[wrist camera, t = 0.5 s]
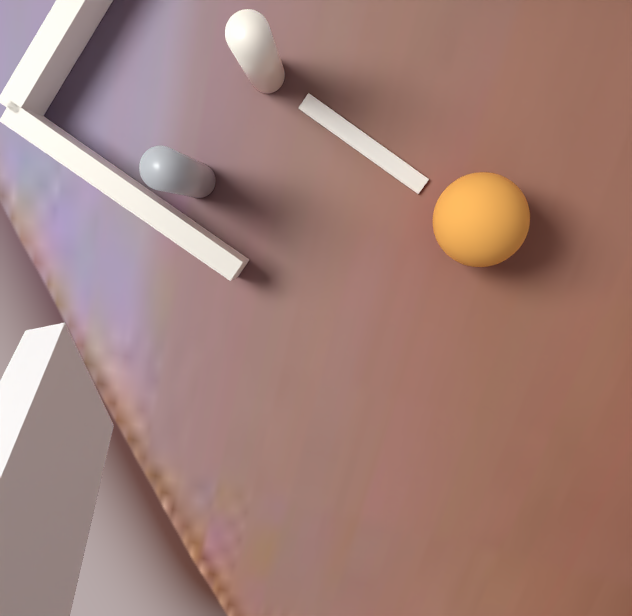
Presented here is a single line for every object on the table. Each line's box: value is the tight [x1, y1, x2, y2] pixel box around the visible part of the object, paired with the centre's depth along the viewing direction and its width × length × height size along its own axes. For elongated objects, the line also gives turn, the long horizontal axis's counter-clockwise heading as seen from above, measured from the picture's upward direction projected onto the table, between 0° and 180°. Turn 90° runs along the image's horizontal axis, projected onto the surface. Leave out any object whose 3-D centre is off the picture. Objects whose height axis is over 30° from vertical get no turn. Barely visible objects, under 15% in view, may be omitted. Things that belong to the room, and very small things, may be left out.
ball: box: [433, 172, 530, 267], centre depth 39 cm, size 6×6×6 cm
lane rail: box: [0, 0, 249, 281], centre depth 39 cm, size 19×23×3 cm
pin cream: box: [225, 9, 285, 94], centre depth 36 cm, size 2×2×9 cm
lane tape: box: [298, 93, 429, 194], centre depth 41 cm, size 10×1×1 cm, turn 55°
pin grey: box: [139, 146, 216, 198], centre depth 38 cm, size 2×2×9 cm
